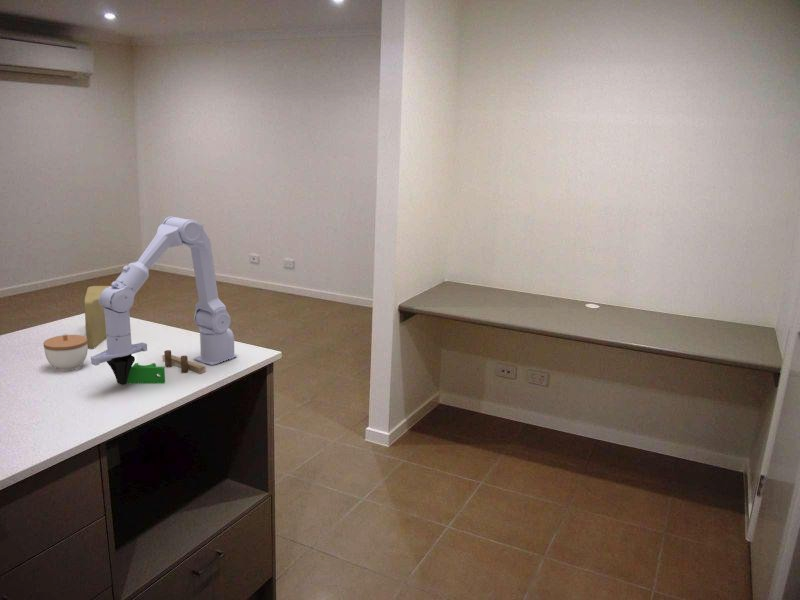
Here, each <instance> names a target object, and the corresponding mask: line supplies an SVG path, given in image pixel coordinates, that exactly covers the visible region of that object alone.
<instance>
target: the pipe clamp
mask: <svg viewBox="0 0 800 600" xmlns="http://www.w3.org/2000/svg"><path fill="white" fill-rule="evenodd" d="M165 370H166V369H165V366H157V365H156V362H151V364H146V365H141V364H139V362H134V363H133V365H132V367H131V369H130V372H129V375H128V380H127V384H165V383H166V377H165V376H166V374H165V372H166V371H165Z"/></svg>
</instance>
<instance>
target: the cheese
mask: <svg viewBox="0 0 800 600" xmlns="http://www.w3.org/2000/svg"><path fill="white" fill-rule="evenodd" d="M111 286H112V285H92V286H88V287H87V289H86V293H85V296H84V299H83V300H84V301H83V304H84V319H85V320H84V321H85V337H86V338H87V340H88V342H87V346H88V349H89V348H93V349H95V348H97V346H99V345H100V344H101V343H103V342H104V341H105V340H106V339H105V338H106V326H105V313H104V308H103V307H102V306H101V305H100V303H99V301H98V299H99V298H100V295H101V293H102V291H103V290H104V289H105V288H109V287H111ZM99 343H100V344H99ZM98 344H99V345H98ZM94 347H95V348H94Z"/></svg>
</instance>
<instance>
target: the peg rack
mask: <svg viewBox="0 0 800 600" xmlns="http://www.w3.org/2000/svg"><path fill="white" fill-rule="evenodd" d="M161 358H162V363H163V362H164V364H165V365H164V368H171V367H172V366H175V367H178V368H180V372H181V374H185V373H188V372H189V371H190V372H192V373H195V374H198V375H202V374H204V373H206V366H205V365H203V364H200V363H197V362H194V361H192V360H189V359H188V355H181V356H180V357H179V356H176V355H173V354H172V350H170V349H168V350H164V354H162V355H161Z"/></svg>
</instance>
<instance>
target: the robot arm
mask: <svg viewBox="0 0 800 600" xmlns="http://www.w3.org/2000/svg"><path fill="white" fill-rule="evenodd" d="M183 245H184V246H186V247H188V248H189V249H190V252H191V257H192V258H191V259H192V266H193V272H194V278H195V285H196V290H197V296H198V297H197V298H198V301H197V302H196V303H195V305H194V308H195V310H194V315H193V321H194V323H195V324H196V325H197V326H198V330H199V341H200V342H199V344H200V345H199V347H200V355H199V356H196V357H194V360H195V361H197V362H201V363H203V364H206V365H209V366H215V365H218V364H221V363H224V362H226V360H227V361H229V360H232V359H235V358H237V355H236V354H235V335H234V332H233V331H232V329H231V328H229V327H230V325H231V316H230V314H229V312H228V311H227V306H226V305H225V304H224V302H222V300H220V298H219V292H218V291H219V290H218V287H217V285H218V284H217V279H216V272H215V263H214V256H213V250H212V243H211V239H210V237H209V235H208V234H207V233H206V231H205V230H204V225H203V224H202V223H201V222H198V221H197V220H195V219H187V218H181V217H177V216H174V215H170V216H167V217H166V218H165V219H164V220H163V221H162V223H161V224H159V226H158V227H157V231H156V234H155V236H154V237H153V238H152V240H151V241H150V242H149V244H148V246H147V247H146V249H145V250H144V252H143V253H142V254H141V255H140V257H139V259H138V260H137V261H136V262H135V261H134V262H131V263H128V265H125V266H123V268H122V272H121V273H120V274H119V275H118V276H117V278H116V279H115V280H114V281H112V283H110V284H111V285H110V286H111V287H109V288H105V289H104V290H103V291H102V293H101V295H100V298H99V299H98V301H99V303H100V305H101V306H102V307H103V308H104V313H105V326H106V339H105V340H106V347H107V349H106V350H104V351H102V352H100V353H98V354H95V355H92V356H90V364H91V365H93V366H99V365H100V364H103V363H105V362H106V363H107V364H108V366H109V367H110V369H111V370H112V373H113V374H114V377H115V379H116V383H117V384H118V385H121V386H124V385H127V384H128V383H127V380H128V375H129V372H130V369H131V367H132V366H133V365H134V364H135V359H136V358H135V356H134V354H137V353H140V352H147V351H148V343H146V342H138V343H132V332H131V331H132V329H131V319H130V318H131V317H130V309H131V308H133V306H134V303H135V296H136V294H137V293H138V292H139V290H140V289H141V288H142V286H143V285H144V284H145V283H146V281H147V280H148V279H149V277H150V272H149V271H150V269H151V268H152V266H154V265H155V264H156V262H157V261H158V260H159V259H160V258H161V257H162V255H164V253H165V252H166V251H167V250H168V249H169V248H174V247H180V246H183ZM234 357H235V358H234ZM231 358H232V359H231ZM228 359H229V360H228ZM223 361H224V362H223ZM220 362H221V363H220Z"/></svg>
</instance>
